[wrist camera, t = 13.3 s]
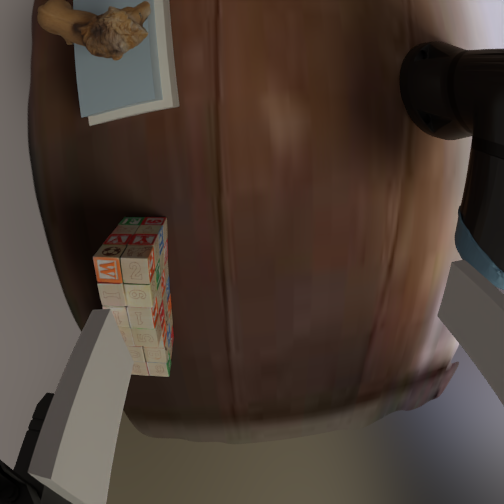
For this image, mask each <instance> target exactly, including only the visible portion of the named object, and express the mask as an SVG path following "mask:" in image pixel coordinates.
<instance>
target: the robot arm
mask: <svg viewBox="0 0 504 504" xmlns="http://www.w3.org/2000/svg"><path fill="white" fill-rule="evenodd" d="M400 90H401V95H402V99H403V102H404V105H405V108H406V110H407V112H408V114H409V115H410V117H411V118H412V120H413V121H414V123H415V124H416V125H417V126H418V127H419V128H420V129H421V130H423V131H424V132H425V133H427V134H429V135H431V136H434V137H437V138H441V139H445V140H456V139H461V138H465V137H470V136H472V145H471V151H470V158H469V165H468V171H467V177H466V183H465V188H464V193H463V198H462V203H461V206H459V209H458V222H457V227H456V232H455V245H456V248H457V250H458V252H459V254H460V256H461V258H462V259H463V260H460V261H455V262H452V263H451V267H450V272H449V276H448V280H447V284H446V288H445V291H444V295H443V299H442V302H441V306H440V309H439V312H438V317H439V318H440V320H441V321H442V322H443V323H444V325H445V326H446V327H447V328H448V330H449V331H450V332H451V333H452V335H453V336H454V337H455V338H456V340H457V341H458V342H459V344H460V345H461V346H462V347H463V349H464V350H465V351H466V353H467V354H468V355H469V357H470V358H471V359H472V361H473V362H474V363H475V364H476V366H477V368H478V369H479V370H480V372H481V373H482V375H483V376H484V377H485V379H486V380H487V382H488V383H489V384H490V386H491V387H492V389H493V390H494V392H495V393H496V395H497V396H498V398H499V399H500V401H501V402H502V404H503V405H504V294H503V293H502V292H501V291H499V290H498V289H497V288H500V289H502V290H504V49H481V50H464V49H462V48H459V47H456V46H453V45H450V44H447V43H444V42H428V43H422V44H419V45H417V46H415V47H414V48H413V49H411V50H410V52H409V53H408V54H407V55H406V57H405V59H404V61H403V64H402V67H401V72H400ZM496 287H497V288H496ZM133 364H134V361H133V359H132V357H131V355H130V353H129V350H128V348H127V346H126V344H125V342H124V339H123V337H122V335H121V333H120V330H119V328H118V326H117V323H116V321H115V318H114V316H113V314H112V311H111V309H99V310H92V312H91V314H90V316H89V318H88V320H87V322H86V324H85V326H84V328H83V330H82V332H81V334H80V337H79V339H78V341H77V343H76V345H75V347H74V350H73V352H72V354H71V356H70V359H69V361H68V363H67V365H66V368H65V370H64V372H63V374H62V377H61V379H60V382H59V384H58V386H57V389H56V391H55V394H53V393H46V395H45V396H44V397H43V398H42V399H41V401H40V402H39V403H38V404H37V406H36V409H35V412H34V414H33V417H32V418H33V420H31V422H30V424H29V427H28V428H29V430H28V431H27V432H26V435H25V438H24V441H23V444H22V447H21V450H20V453H19V456H18V459H17V462H16V465H15V467H14V470H12V469H11V468H10V467H8V466H7V465H6V464H5V463H3V462H2V461H1V460H0V504H106V501H107V494H108V487H109V481H110V474H111V468H112V462H113V456H114V451H115V446H116V440H117V435H118V430H119V425H120V420H121V416H122V411H123V407H124V402H125V398H126V393H127V389H128V385H129V381H130V376H131V372H132V368H133Z"/></svg>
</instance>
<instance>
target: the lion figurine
mask: <svg viewBox="0 0 504 504" xmlns="http://www.w3.org/2000/svg"><path fill="white" fill-rule="evenodd" d="M150 13H151V9H150V4H149V2H147V1H143V2H142V3H140V4H138V5H137V6H135V7H124V8H122V9H118V8H115V7H112V6H109V8H108V11H106V12H105V13H104V14H101V15H98V16H97V15H96V14H93V13H91V12H87V11H81V10H73V8H72V6H71V5H70V3H68V2H67V1H65V0H48V1H47V2H46V3H45V4H44V5H41V6H40V7H39V8H38V16H37V19H38V23H39V25H40V26H41V27H42V28H43V29H44V30H46V31H48V32H50V33H52V34H55V35H60V36H61V37H63V38H64V39H65V41H66V43H67V44H68V45H72V44H73V43H76V44H78V45H82V46H85V47H86V49H87V50H88V51H89V52H90V53H91V54H92V55H94V56H97V57H104V58H112V59H113V60H115V61H116V60H120V59H121V58H122V57H123V54H124V53H126V52H127V51H129V50H130V49H133V48H134V47H135V46H138V45H139V44H140V43H141V42H142V41H143V40H144V39H145V38H146V37H147V35H148V32H147V31H146V29H145V28H144V27H143V23H144V22H145V21H146V19H147V18H148V16H149V15H150Z"/></svg>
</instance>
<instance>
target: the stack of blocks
mask: <svg viewBox="0 0 504 504" xmlns="http://www.w3.org/2000/svg"><path fill="white" fill-rule="evenodd" d="M167 258H168V247H167V218H166V217H124V218H123V219H122V220H121V222H120V223H119V224H118V226H117V227H116V228H115V230H114V231H113V232H112V234H110V235H109V236H108V238H107V239H106V240H105V242H104V243H103V244H102V246H101V247H100V249H99V250H98V251H97V252H96V254H95V255H94V256H93V261H94V266H95V272H96V277H97V281H98V283H97V286H98V291H99V295H100V299H101V303H102V305H103V306H102V308H103V309H111V311H112V314H113V316H114V318H115V321H116V323H117V326H118V328H119V330H120V333H121V335H122V337H123V339H124V342H125V344H126V346H127V348H128V350H129V353H130V355H131V357H132V359H133V361H134V364H133V368H132V372H131V374H135V375H146V376H149V375H151V376H165V377H169V374H170V366H171V354H172V345H173V338H174V335H173V326H172V324H173V321H172V310H171V296H170V289H169V276H168V259H167Z"/></svg>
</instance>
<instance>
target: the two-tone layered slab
mask: <svg viewBox="0 0 504 504" xmlns="http://www.w3.org/2000/svg"><path fill="white" fill-rule="evenodd" d="M143 1H147V2H149V4H150V9H151V13H150V15H149V16H148V18H147V19H146V21H145V22H144V23H143V27H144V28H145V29H146V31H147V32H148V35H147V37H146V38H145V39H144V40H143V41H142V42H141V43H140V44H139V45H138V46H135V47H134V48H133V49H130V50H129V51H127V52H126V53H124V54H123V57H122V58H121V59H120V60H116V61H115V60H113V59H112V58H104V57H97V56H94V55H92V54H91V53H90V52H89V51H88V50H87V49H86V47H85V46H82V45H78V44H76V43H74V51H75V65H76V77H77V87H78V95H79V104H80V111H81V118H82V117H88V118H89V125H90V126H91V125H96V124H100V123H105V122H109V121H113V120H117V119H121V118H125V117H130V116H134V115H139V114H143V113H148V112H153V111H158V110H163V109H169V108H174V107H179V99H178V90H177V81H176V72H175V62H174V52H173V42H172V30H171V18H170V5H169V0H73V10H81V11H87V12H91V13H93V14H96V15H97V16H98V15H101V14H104V13H105V12H106V11H108V8H109V6H112V7H115V8H118V9H122V8H124V7H135V6H137V5H138V4H140V3H142V2H143Z"/></svg>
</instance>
